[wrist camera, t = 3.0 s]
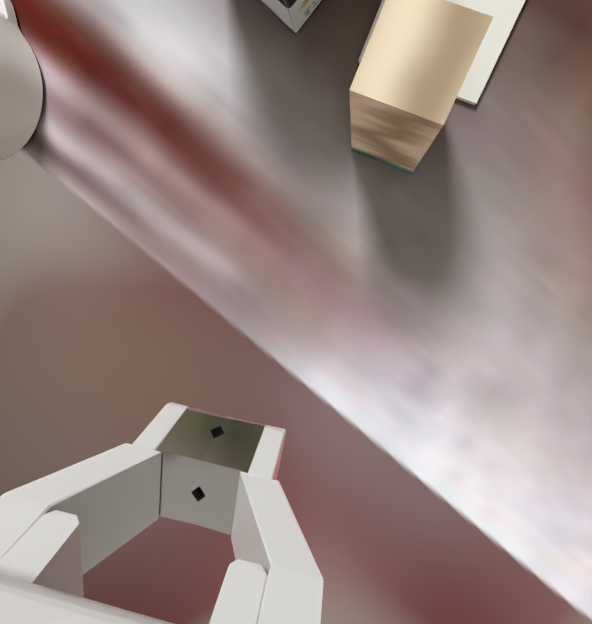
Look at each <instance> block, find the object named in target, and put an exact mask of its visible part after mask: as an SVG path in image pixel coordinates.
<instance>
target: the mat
mask: <svg viewBox="0 0 592 624" xmlns="http://www.w3.org/2000/svg"><path fill="white" fill-rule="evenodd" d="M446 1H449V2H452V3H455V4H458V5H461V6H464V7H467V8H469V9H472V10H475V11H478V12H481V13H484V14H487V15H490V16H493V19H492V21H491V23H490V26H489V28H488V30H487V32H486V34H485V36H484V39H483V41H482V43H481V45H480V47H479V49H478V52H477V54H476V56H475V58H474V60H473V62H472V65H471V67H470V69H469V71H468V73H467V75H466V78H465V80H464V82H463V84H462V86H461V88H460V91H459V93H458V95H457V97H456V99H459V100H461V101H464V102H467V103H469V104H472V105H476V104H477V101H478V99H479V97H480V95H481V93H482V91H483V89H484V87H485V85H486V82H487V80H488V78H489V76H490V74H491V72H492V70H493V68H494V66H495V63H496V61H497V59H498V57H499V55H500V53H501V51H502V49H503V47H504V45H505V42H506V40H507V38H508V36H509V34H510V32H511V30H512V28H513V26H514V23H515V21H516V19H517V17H518V15H519V13H520V11H521V9H522V7H523V4H524V2H525V0H446ZM384 3H385V0H382V2H381V5H380V7H379V10H378V12H377V15H376V17H375V20H374V22H373V25H372V27H371V30H370V32H369V35H368V37H367V40H366V42H365V45H364V47H363V49H362V52H361V54H360V57H359V59H358V63H360V62H361V60H362V57H363V55H364V52H365V50H366V47H367V45H368V42H369V40H370V37H371V35H372V33H373V30H374V28H375V25H376V23H377V20H378V18H379V15H380V13H381V10H382V8H383V5H384Z"/></svg>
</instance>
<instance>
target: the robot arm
mask: <svg viewBox="0 0 592 624" xmlns="http://www.w3.org/2000/svg"><path fill="white" fill-rule="evenodd" d="M42 100H43V87H42V79H41V73H40V69H39V66H38V63H37V60H36V57H35V55H34V53H33V51H32V49H31V47H30V46H29V44H28V43H27V41H26V40H25V38H24V37H23V35H22V33H21V32H20V29H19V27H18V23H17V19H16V15H15V11H14V8H13V5H12V3H11V1H10V0H0V160H3V159H6V158H8V157H10V156H12V155H13V154H15V153H16V152H18V151H19V150H20V149H21V148H22V147H23V146H24V145H25V144H26V143H27V142H28V140H29V139H30V137H31V136H32V134H33V132H34V130H35V128H36V126H37V124H38V121H39V117H40V113H41V108H42ZM284 438H285V429H282V428H277V427H273V426H268V425H266V426H265V425H261V424H256V423H252V422H248V421H244V420H239V419H235V418H231V417H227V416H223V415H219V414H216V413H212V412H208V411H204V410H200V409H197V408H193V407H188V406H184V405H180V404H176V403H172V402H170V403H168V404H166V405H165V406H164V407H163V409H162V410H161V411H160V412H159V413H158V414H157V416H156V417H155V418H154V419H153V420H152V421H151V423H150V424H149V425H148V426H147V427H146V428H145V430H144V431H143V432H142V433H141V434H140V436H139V437H138V438H137V439H136V440H135V442H134V443H133V444H128V443H125V444H122V445H120V446H118V447H115V448H113V449H110V450H108V451H106V452H103V453H101V454H98V455H96V456H93V457H91V458H88V459H86V460H84V461H81V462H79V463H76V464H74V465H72V466H69V467H67V468H64V469H62V470H59V471H57V472H55V473H52V474H50V475H47V476H45V477H43V478H40V479H38V480H35V481H33V482H31V483H28V484H26V485H23V486H21V487H18V488H16V489H14V490H11V491H9V492H6V493H4V494H3V495H2V496H1V497H0V624H173V623H170V622H166V621H163V620H159V619H156V618H152V617H148V616H145V615H142V614H138V613H135V612H131V611H128V610H125V609H121V608H118V607H114V606H110V605H107V604H103V603H100V602H96V601H93V600H90V599H86V598H84V594H83V593H84V591H83V576H82V575H83V574H85V573H86V572H87V571H88V570H90V569H91V568H92V567H94V566H95V565H97V564H98V563H99V562H100V561H102V560H103V559H105V558H106V557H107V556H109V555H110V554H111V553H113V552H114V551H116V550H117V549H118V548H119V547H121V546H122V545H124V544H125V543H126V542H128V541H129V540H130V539H132V538H133V537H134V536H136V535H137V534H138V533H140V532H141V531H142V530H144V529H145V528H146V527H148V526H149V525H150V524H152V523H153V522H154V521H156V520H157V519H158V518H159V516H161V517H166V518H170V519H174V520H179V521H183V522H187V523H192V524H196V525H199V526H203V527H206V528H210V529H213V530H216V531H220V532H223V533H226V534H230V535H231V539H232V544H233V549H234V554H235V559H236V561H234V562H233V563H231V564H229V567H228V570H227V573H226V576H225V579H224V582H223V584H222V588H221V591H220V593H219V596H218V599H217V602H216V605H215V608H214V611H213V614H212V617H211V620H210V623H209V624H320V621H321V607H322V593H323V578H322V576H321V574H320V571H319V569H318V567H317V565H316V563H315V560H314V558H313V556H312V554H311V551H310V549H309V547H308V545H307V543H306V540H305V538H304V536H303V534H302V532H301V530H300V527H299V525H298V522H297V520H296V519H295V516H294V514H293V511H292V509H291V507H290V505H289V502H288V500H287V498H286V496H285V494H284V491H283V489H282V487H281V485H280V482H279V481H276V478H277V474H278V468H279V464H280V459H281V453H282V448H283V443H284Z"/></svg>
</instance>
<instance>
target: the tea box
mask: <svg viewBox="0 0 592 624" xmlns="http://www.w3.org/2000/svg"><path fill="white" fill-rule="evenodd" d="M261 1H262V2H263V3H265V4H266V5H267V6H268V7H269V8H270V9H271V10H272V11H273V12H274V13H275V14H276V15H277V16H278V17H279V18H280V19H281V20H282V21H283V22H284V23H285V24H286V25H287V26H288V27H290V28H291V29H292V30H293V31H294V32H295V33H297V32H298V30H299V29H300V28H301V26H302V25H303V24H304V23H305V21H306V20H307V19H308V17H309V16H310V15H311V13H312V12H313V11H314V9H315V8H316V7H317V6H318V4H319V3H320V2H321V1H322V0H261Z"/></svg>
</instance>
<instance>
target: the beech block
mask: <svg viewBox="0 0 592 624" xmlns="http://www.w3.org/2000/svg"><path fill="white" fill-rule="evenodd" d="M492 19H493V16H490V15H487V14H484V13H481V12H478V11H475V10H472V9H469V8H467V7H464V6H461V5H458V4H455V3H452V2H449V1H446V0H385V3H384V5H383V8H382V10H381V13H380V15H379V18H378V20H377V23H376V25H375V28H374V30H373V33H372V35H371V37H370V40H369V42H368V45H367V47H366V50H365V52H364V55H363V57H362V60H361V62H360V65H359V67H358V70H357V72H356V75H355V77H354V80H353V82H352V85H351V87H350V90H349V92H350V118H351V145H352V150H353V151H356V152H358V153H361V154H363V155H366V156H368V157H371V158H374V159H376V160H379V161H381V162H384V163H386V164H389V165H391V166H394V167H396V168H399V169H402V170H404V171H407V172H409V173H413V171H414V170H415V168H416V167H417V165H418V164H419V162H420V161H421V159H422V158H423V156H424V155H425V153H426V151H427V150H428V148H429V147H430V145H431V144H432V142H433V141H434V139H435V138H436V136H437V135H438V133H439V131H440V130H441V128H442V127H443V125H444V123H445V121H446V119H447V117H448V114H449V112H450V110H451V108H452V106H453V104H454V101H455V99H456V97H457V95H458V93H459V91H460V88H461V86H462V84H463V82H464V80H465V78H466V75H467V73H468V71H469V69H470V67H471V65H472V62H473V60H474V58H475V56H476V54H477V52H478V49H479V47H480V45H481V43H482V41H483V39H484V36H485V34H486V32H487V30H488V28H489V26H490V23H491V21H492Z"/></svg>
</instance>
